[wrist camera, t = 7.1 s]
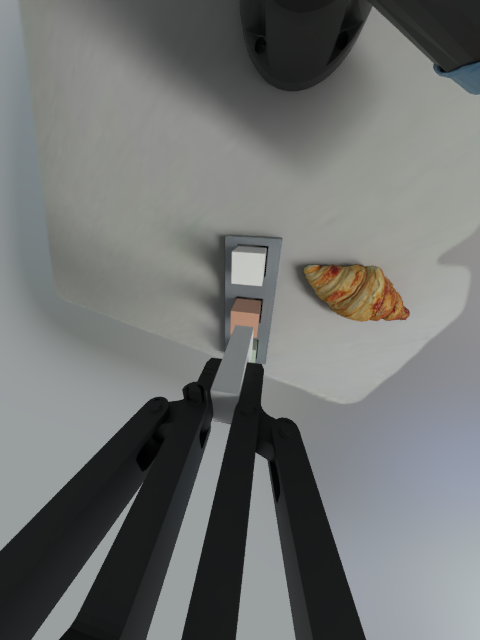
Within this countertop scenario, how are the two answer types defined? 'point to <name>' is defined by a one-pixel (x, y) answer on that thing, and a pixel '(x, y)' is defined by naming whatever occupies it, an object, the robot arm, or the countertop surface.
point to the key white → (248, 265)
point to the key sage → (254, 350)
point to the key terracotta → (246, 314)
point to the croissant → (357, 292)
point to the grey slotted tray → (253, 287)
